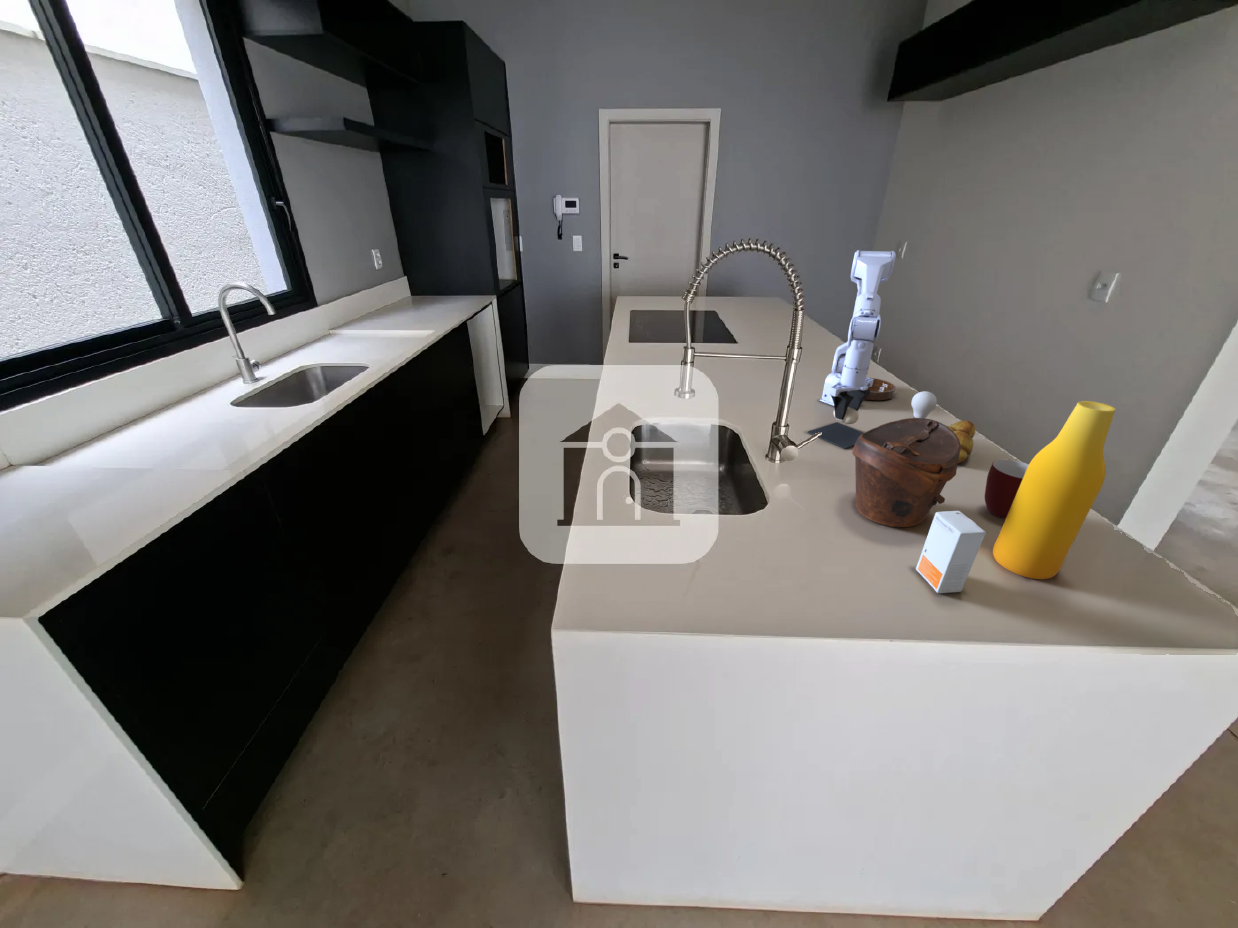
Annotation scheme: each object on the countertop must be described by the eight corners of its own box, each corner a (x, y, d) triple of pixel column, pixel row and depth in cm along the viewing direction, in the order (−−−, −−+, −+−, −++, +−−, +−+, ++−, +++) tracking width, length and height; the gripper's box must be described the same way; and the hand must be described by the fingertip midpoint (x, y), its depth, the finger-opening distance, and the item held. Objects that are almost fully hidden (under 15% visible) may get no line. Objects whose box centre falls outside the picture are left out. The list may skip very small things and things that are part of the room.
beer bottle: (1040, 550, 89) (1113, 397, 75) (1068, 584, 81) (1157, 420, 67) (982, 543, 91) (1043, 393, 77) (1004, 576, 83) (1077, 415, 69)
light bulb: (923, 422, 140) (933, 388, 135) (933, 430, 135) (943, 396, 130) (901, 421, 140) (910, 388, 136) (910, 430, 135) (920, 395, 130)
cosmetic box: (914, 569, 84) (934, 511, 79) (937, 568, 85) (959, 509, 79) (937, 594, 79) (960, 533, 73) (962, 592, 79) (987, 531, 74)
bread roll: (970, 470, 115) (982, 439, 111) (923, 461, 119) (932, 431, 115) (967, 448, 125) (977, 419, 121) (923, 441, 129) (931, 412, 125)
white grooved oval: (828, 419, 132) (831, 404, 130) (839, 416, 134) (842, 401, 132) (850, 428, 127) (853, 412, 125) (860, 424, 129) (864, 409, 127)
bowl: (832, 390, 163) (833, 382, 162) (861, 382, 170) (863, 374, 169) (873, 405, 152) (875, 395, 150) (903, 395, 159) (906, 386, 157)
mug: (1039, 513, 99) (1059, 470, 94) (1040, 533, 93) (1061, 487, 88) (976, 497, 104) (993, 455, 100) (973, 515, 99) (990, 471, 94)
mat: (807, 432, 134) (807, 431, 134) (836, 423, 140) (837, 422, 140) (845, 449, 125) (845, 447, 125) (875, 438, 131) (875, 437, 130)
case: (840, 529, 95) (860, 445, 87) (840, 480, 111) (857, 406, 103) (946, 549, 89) (979, 461, 81) (930, 495, 105) (956, 417, 97)
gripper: (850, 375, 117) (839, 427, 124) (888, 365, 124) (876, 416, 130) (826, 367, 123) (816, 418, 129) (863, 359, 129) (852, 407, 136)
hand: (844, 416), depth 130 cm, fingers closed on white grooved oval, 4 cm apart
